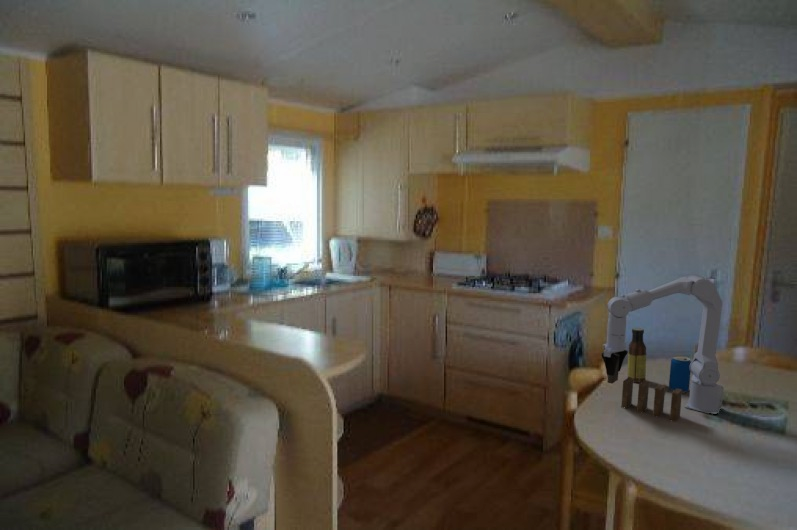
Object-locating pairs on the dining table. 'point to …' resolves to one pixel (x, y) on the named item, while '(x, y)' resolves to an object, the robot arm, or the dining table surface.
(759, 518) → the dining table surface
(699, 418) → the dining table surface
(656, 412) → the domino
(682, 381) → the beverage can
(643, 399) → the domino
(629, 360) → the sauce bottle
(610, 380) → the domino
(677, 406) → the domino
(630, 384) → the domino
